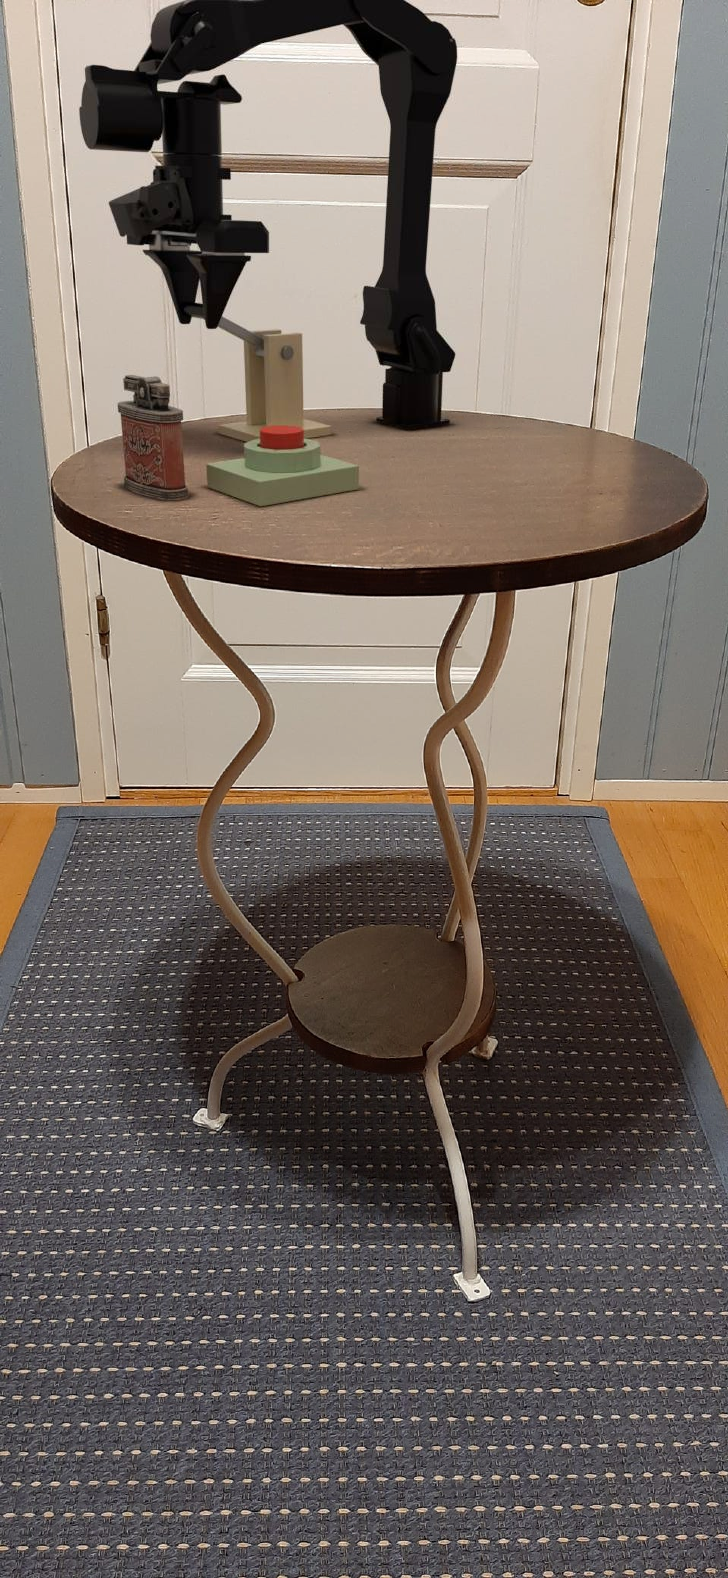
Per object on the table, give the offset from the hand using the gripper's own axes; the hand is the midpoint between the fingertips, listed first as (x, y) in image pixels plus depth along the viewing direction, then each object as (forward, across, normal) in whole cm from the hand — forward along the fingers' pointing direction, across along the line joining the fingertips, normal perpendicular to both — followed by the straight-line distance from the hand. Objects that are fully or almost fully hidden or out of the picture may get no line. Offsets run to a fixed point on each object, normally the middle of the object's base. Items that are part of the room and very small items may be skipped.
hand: (197, 326), depth 119 cm
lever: (+2, 0, +5) cm, 5 cm away
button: (+8, +22, -4) cm, 24 cm away
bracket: (+12, 0, +10) cm, 15 cm away
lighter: (+12, +16, -14) cm, 25 cm away
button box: (+12, +22, -4) cm, 26 cm away
